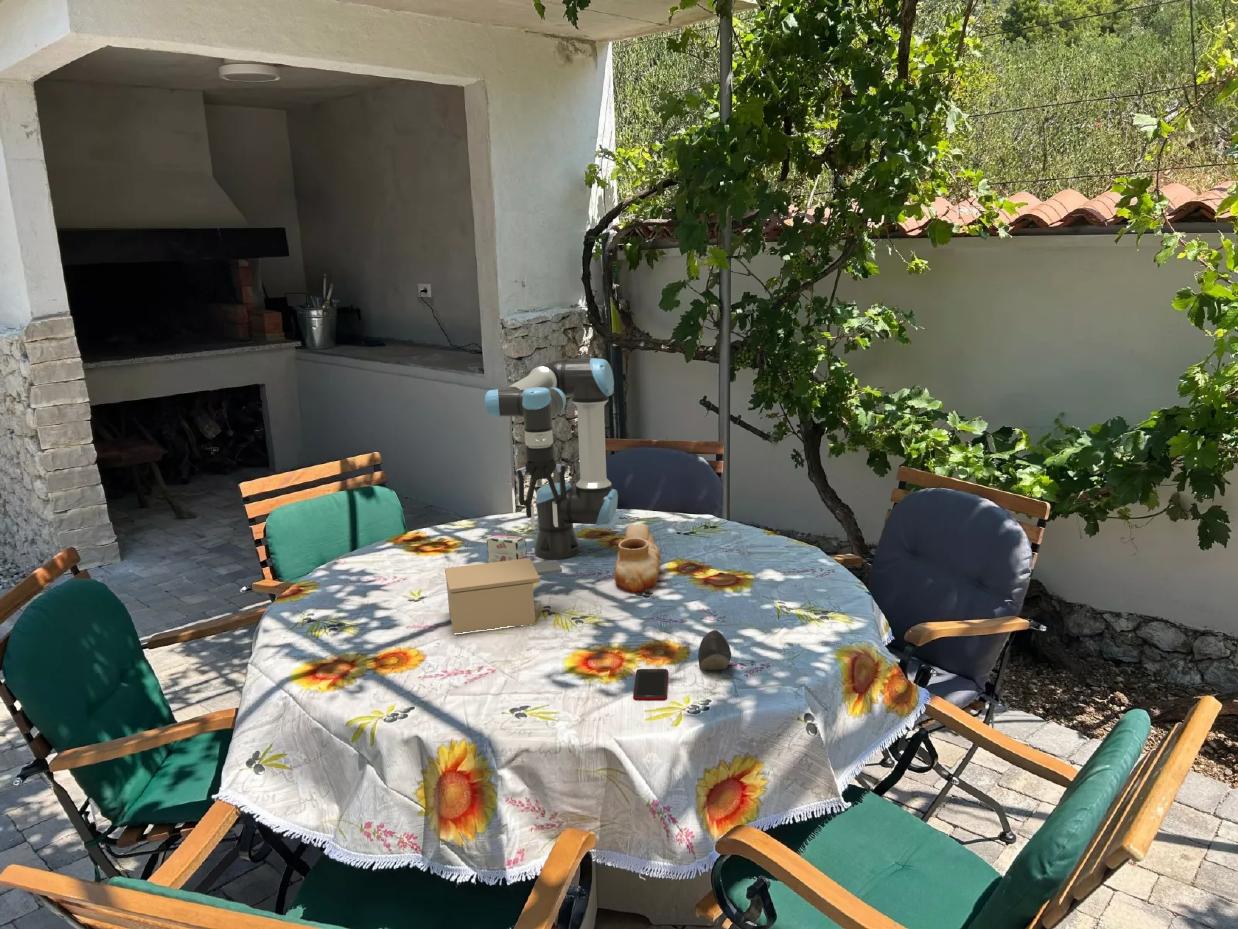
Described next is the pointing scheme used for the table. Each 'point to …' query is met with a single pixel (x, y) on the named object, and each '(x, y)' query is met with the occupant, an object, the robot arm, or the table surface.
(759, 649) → the table surface
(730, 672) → the table surface
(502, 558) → the candy bar box
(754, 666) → the table surface
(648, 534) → the ceramic vessel
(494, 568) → the lid
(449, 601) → the carton
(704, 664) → the stone
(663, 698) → the cell phone
